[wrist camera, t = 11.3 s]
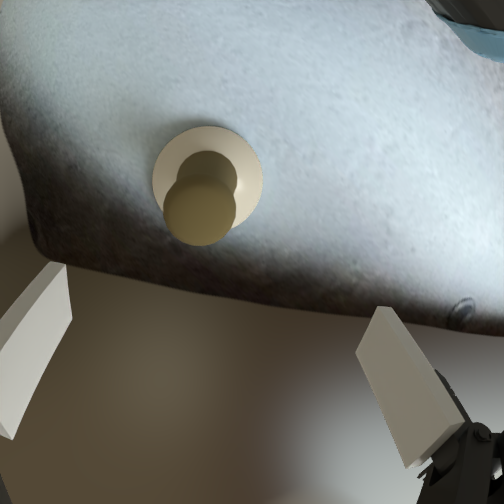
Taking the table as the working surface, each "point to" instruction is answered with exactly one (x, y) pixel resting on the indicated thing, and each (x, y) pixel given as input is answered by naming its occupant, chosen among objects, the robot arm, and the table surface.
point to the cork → (202, 199)
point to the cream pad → (218, 142)
